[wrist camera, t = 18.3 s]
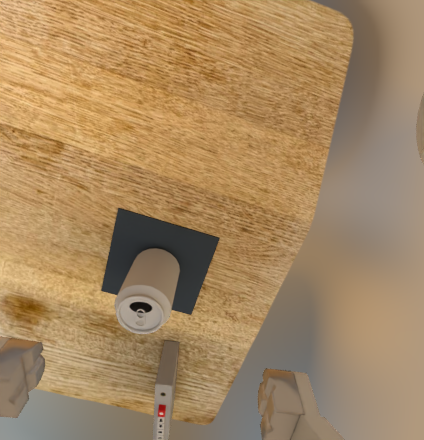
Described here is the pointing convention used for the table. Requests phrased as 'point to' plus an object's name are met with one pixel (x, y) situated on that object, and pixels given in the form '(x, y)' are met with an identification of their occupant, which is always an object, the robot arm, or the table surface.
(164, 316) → the can
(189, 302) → the mat
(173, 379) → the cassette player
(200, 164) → the table surface
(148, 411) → the table surface
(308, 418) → the robot arm
